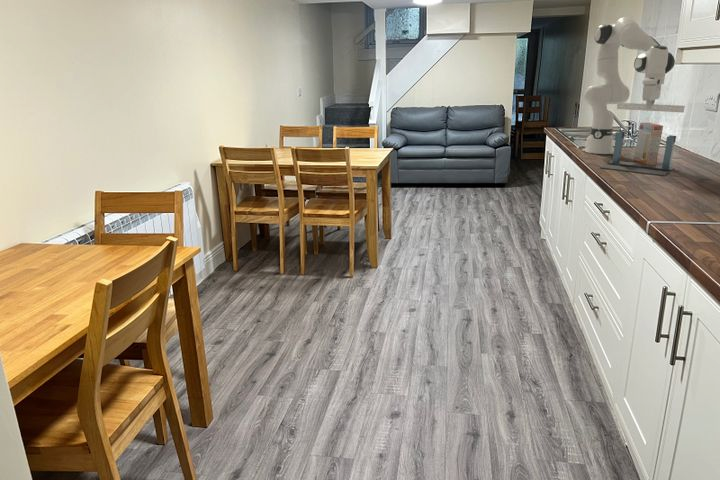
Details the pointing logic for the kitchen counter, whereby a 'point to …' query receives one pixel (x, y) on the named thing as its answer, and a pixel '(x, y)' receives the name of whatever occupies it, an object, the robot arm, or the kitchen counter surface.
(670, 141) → the rack
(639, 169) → the mat
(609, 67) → the robot arm
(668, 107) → the rail
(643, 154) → the cracker box
